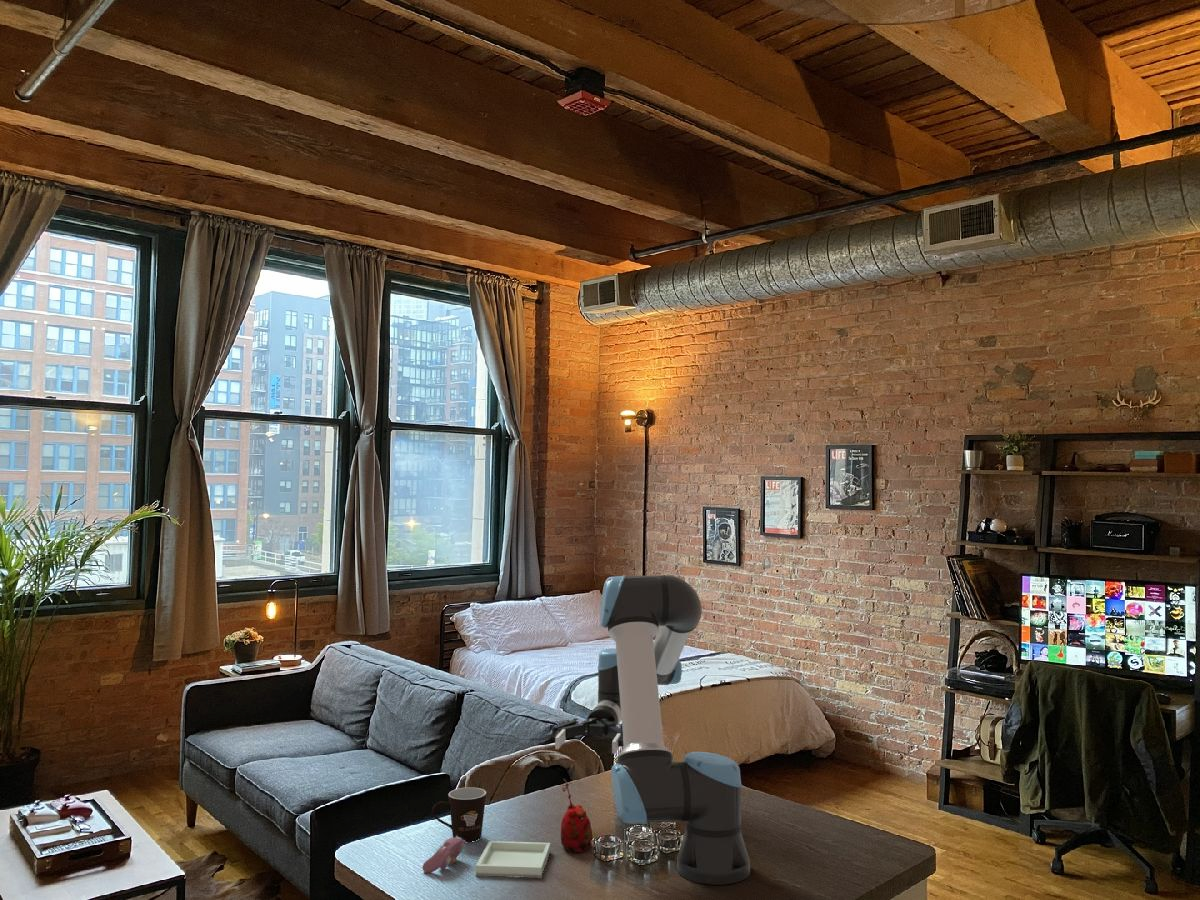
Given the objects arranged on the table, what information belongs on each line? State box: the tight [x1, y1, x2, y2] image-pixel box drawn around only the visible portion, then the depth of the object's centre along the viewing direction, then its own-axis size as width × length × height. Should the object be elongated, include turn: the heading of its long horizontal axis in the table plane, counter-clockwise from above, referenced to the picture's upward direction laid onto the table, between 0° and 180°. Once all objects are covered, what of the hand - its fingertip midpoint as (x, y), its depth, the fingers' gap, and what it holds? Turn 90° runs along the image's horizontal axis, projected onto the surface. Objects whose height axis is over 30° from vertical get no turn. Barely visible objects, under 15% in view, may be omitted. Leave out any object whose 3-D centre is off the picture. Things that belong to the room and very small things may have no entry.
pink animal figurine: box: [422, 836, 467, 874], centre depth 189 cm, size 10×5×7 cm, turn 160°
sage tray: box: [475, 840, 552, 878], centre depth 190 cm, size 14×14×2 cm
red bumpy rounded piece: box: [560, 778, 594, 854], centre depth 199 cm, size 8×7×15 cm
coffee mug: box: [431, 787, 487, 843], centre depth 205 cm, size 12×9×10 cm
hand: (585, 745), depth 208 cm, fingers open, 13 cm apart
